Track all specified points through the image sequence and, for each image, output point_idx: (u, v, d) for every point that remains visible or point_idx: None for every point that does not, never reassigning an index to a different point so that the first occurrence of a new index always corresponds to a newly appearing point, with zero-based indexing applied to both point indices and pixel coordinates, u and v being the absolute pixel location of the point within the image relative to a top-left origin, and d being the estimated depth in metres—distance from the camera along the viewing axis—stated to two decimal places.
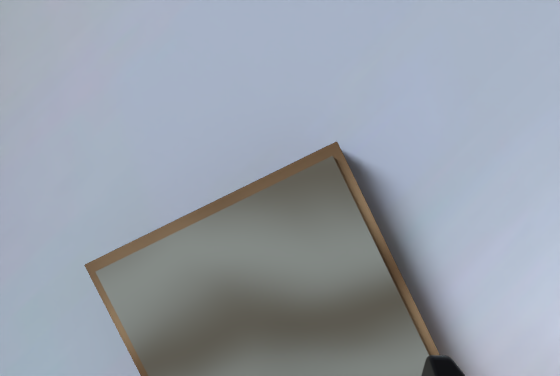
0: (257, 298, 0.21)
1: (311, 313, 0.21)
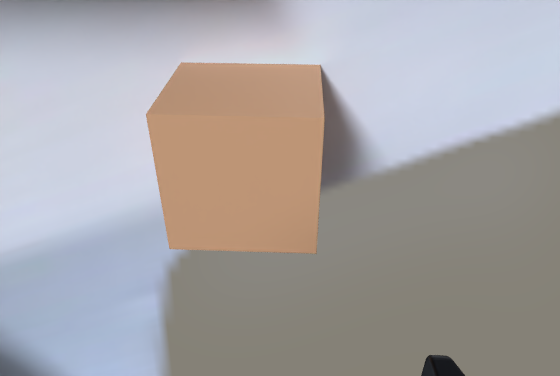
0: None
1: None
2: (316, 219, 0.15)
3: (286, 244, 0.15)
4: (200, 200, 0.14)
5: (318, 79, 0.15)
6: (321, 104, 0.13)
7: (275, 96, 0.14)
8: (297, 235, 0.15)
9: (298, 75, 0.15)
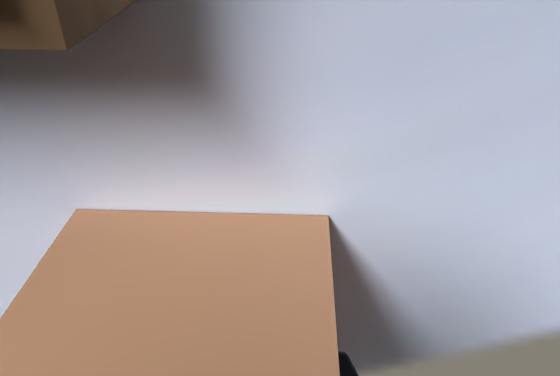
0: None
1: None
2: None
3: None
4: None
5: (325, 270, 0.08)
6: None
7: (234, 343, 0.06)
8: None
9: (286, 257, 0.08)
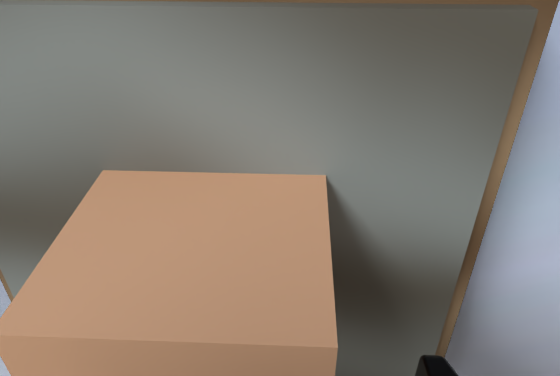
0: None
1: None
2: None
3: None
4: None
5: (322, 216, 0.09)
6: (330, 297, 0.07)
7: (245, 270, 0.08)
8: None
9: (289, 207, 0.09)
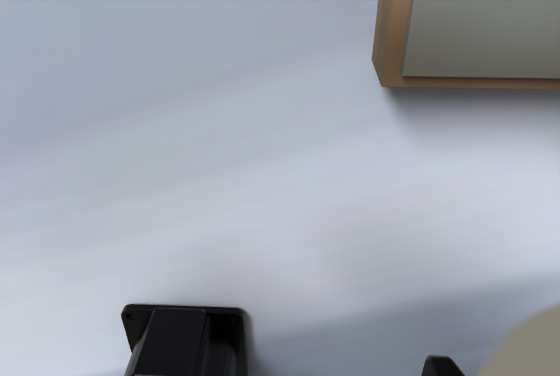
0: None
1: None
2: None
3: None
4: None
5: None
6: None
7: None
8: None
9: None
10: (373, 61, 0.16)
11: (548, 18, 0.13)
